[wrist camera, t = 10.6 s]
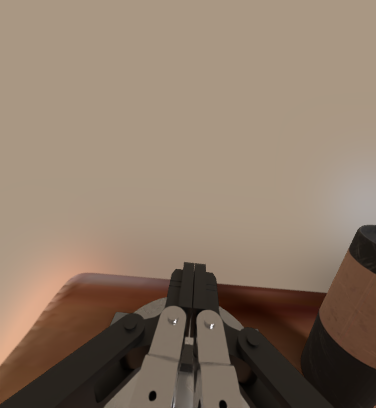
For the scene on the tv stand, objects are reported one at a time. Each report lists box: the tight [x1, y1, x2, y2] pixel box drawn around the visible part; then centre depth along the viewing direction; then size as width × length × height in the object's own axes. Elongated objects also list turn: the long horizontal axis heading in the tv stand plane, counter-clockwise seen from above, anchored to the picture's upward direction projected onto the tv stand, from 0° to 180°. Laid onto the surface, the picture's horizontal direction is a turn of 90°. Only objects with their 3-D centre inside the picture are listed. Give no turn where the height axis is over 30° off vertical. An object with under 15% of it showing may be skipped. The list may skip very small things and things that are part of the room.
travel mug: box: [301, 225, 376, 408], centre depth 20 cm, size 8×8×20 cm
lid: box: [103, 297, 250, 408], centre depth 15 cm, size 13×14×2 cm
